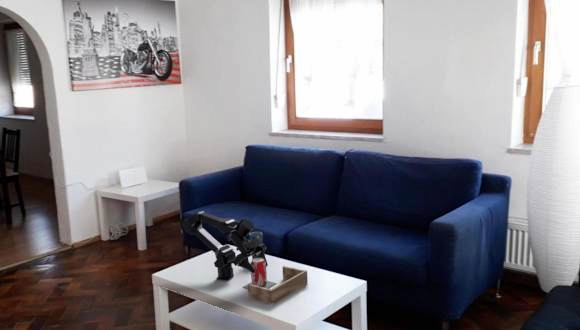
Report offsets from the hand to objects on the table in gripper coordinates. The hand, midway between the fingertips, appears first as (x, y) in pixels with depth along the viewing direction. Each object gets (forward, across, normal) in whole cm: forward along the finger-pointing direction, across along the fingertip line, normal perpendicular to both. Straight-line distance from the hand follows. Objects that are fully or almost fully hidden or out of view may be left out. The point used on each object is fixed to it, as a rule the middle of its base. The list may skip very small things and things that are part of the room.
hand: (260, 269), depth 248 cm
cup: (-10, +24, +22) cm, 34 cm away
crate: (+13, 0, -1) cm, 13 cm away
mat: (+5, 0, +7) cm, 8 cm away
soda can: (+5, 0, +7) cm, 8 cm away
